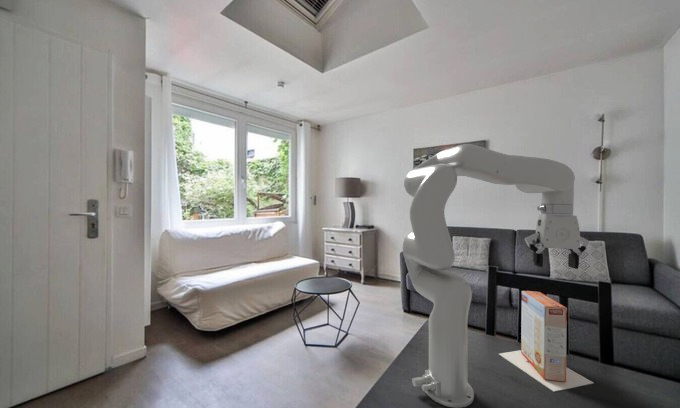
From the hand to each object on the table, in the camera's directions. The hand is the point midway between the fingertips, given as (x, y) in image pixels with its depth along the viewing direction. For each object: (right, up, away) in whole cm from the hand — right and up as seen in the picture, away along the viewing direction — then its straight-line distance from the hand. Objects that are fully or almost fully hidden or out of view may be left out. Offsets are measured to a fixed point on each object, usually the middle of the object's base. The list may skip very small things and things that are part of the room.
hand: (555, 266), depth 81 cm
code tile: (-4, -31, 0) cm, 31 cm away
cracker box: (-4, -30, 0) cm, 31 cm away
